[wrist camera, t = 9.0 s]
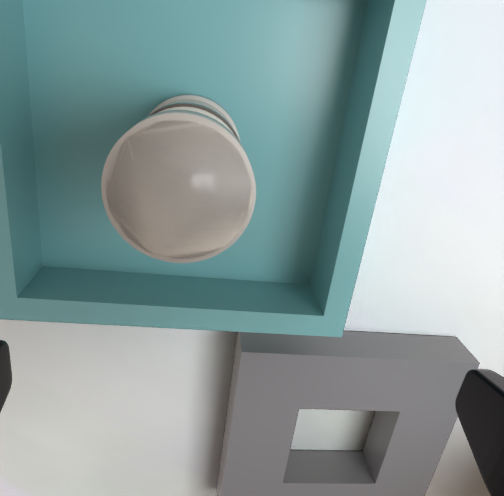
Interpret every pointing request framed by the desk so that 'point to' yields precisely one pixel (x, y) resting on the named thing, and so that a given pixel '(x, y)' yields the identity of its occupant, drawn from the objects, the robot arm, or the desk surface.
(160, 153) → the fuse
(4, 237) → the parts tray
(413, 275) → the desk surface
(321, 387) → the frame
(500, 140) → the desk surface
